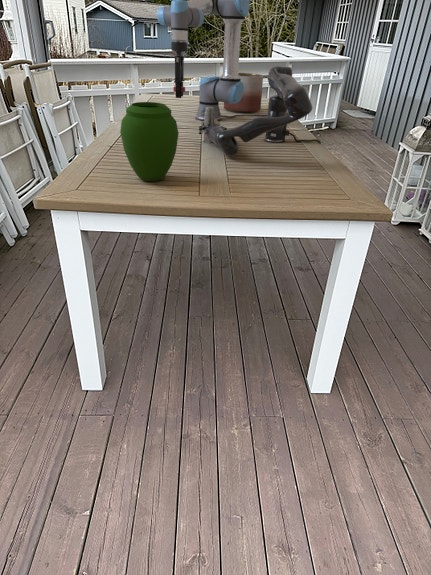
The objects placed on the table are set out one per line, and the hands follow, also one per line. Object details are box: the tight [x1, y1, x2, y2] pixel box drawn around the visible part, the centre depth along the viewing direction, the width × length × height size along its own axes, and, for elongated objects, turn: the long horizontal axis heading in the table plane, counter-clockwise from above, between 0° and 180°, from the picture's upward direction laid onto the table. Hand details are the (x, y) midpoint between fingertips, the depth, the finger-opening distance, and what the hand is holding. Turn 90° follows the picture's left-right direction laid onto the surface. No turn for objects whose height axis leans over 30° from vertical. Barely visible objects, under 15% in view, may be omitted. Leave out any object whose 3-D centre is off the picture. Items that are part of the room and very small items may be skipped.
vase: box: [119, 101, 179, 182], centre depth 140 cm, size 20×20×24 cm
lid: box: [173, 85, 186, 93], centre depth 197 cm, size 6×6×2 cm
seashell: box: [201, 118, 221, 126], centre depth 215 cm, size 10×6×8 cm, turn 97°
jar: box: [203, 107, 215, 144], centre depth 195 cm, size 5×5×16 cm
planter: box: [223, 72, 264, 114], centre depth 276 cm, size 25×25×22 cm
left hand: (179, 96), depth 199 cm, fingers closed on lid, 5 cm apart
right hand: (207, 126), depth 198 cm, fingers closed on jar, 5 cm apart
